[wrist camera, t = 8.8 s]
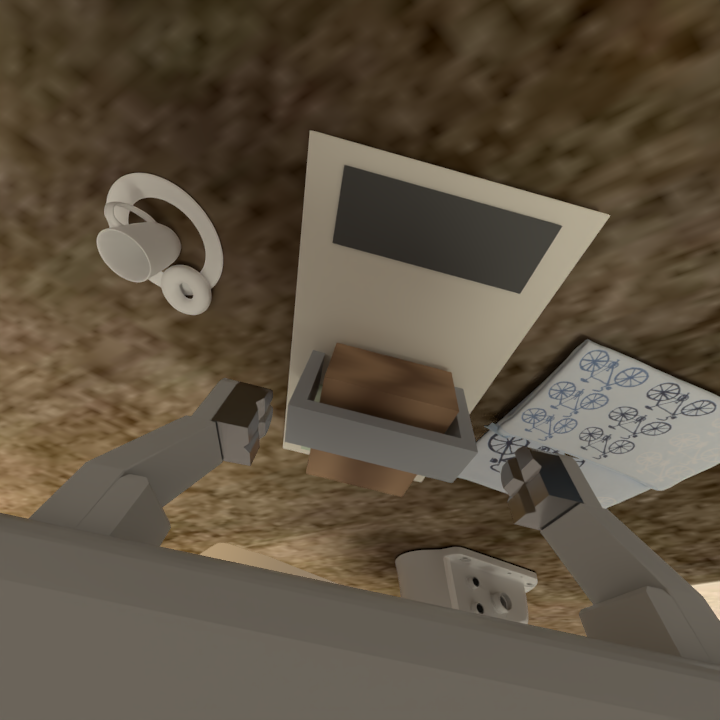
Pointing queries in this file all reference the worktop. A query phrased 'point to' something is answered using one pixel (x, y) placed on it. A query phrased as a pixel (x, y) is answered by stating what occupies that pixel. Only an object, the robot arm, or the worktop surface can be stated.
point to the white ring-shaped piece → (158, 242)
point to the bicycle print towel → (608, 426)
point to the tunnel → (377, 433)
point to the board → (424, 263)
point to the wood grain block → (382, 409)
